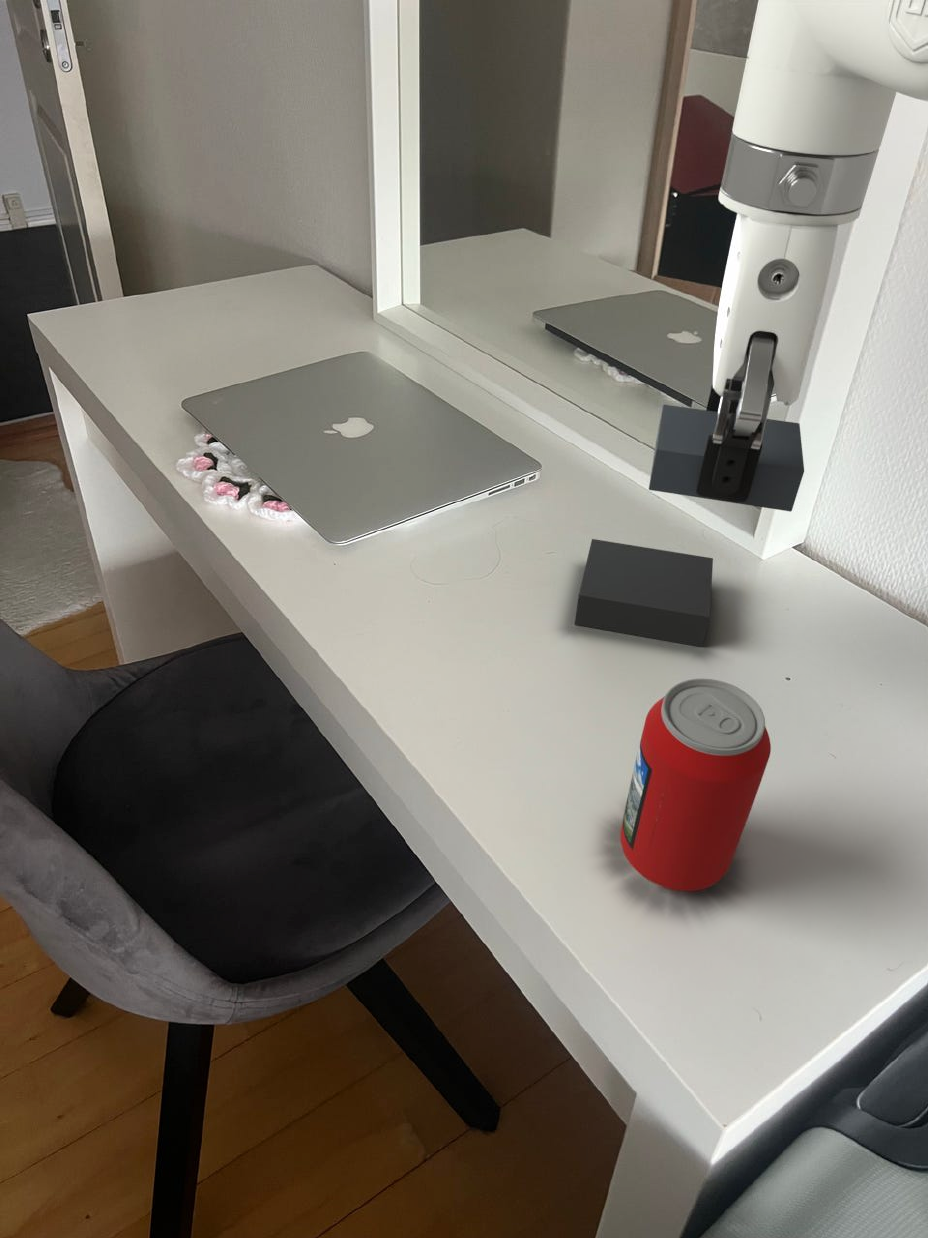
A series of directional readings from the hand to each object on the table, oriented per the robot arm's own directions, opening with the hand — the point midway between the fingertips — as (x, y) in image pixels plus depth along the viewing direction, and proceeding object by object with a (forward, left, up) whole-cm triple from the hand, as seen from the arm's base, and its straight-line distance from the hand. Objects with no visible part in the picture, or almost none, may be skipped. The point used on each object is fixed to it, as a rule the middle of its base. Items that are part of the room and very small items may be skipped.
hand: (722, 466), depth 60 cm
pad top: (0, 0, -1) cm, 1 cm away
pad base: (+3, -5, -16) cm, 17 cm away
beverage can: (-1, +19, -16) cm, 25 cm away
